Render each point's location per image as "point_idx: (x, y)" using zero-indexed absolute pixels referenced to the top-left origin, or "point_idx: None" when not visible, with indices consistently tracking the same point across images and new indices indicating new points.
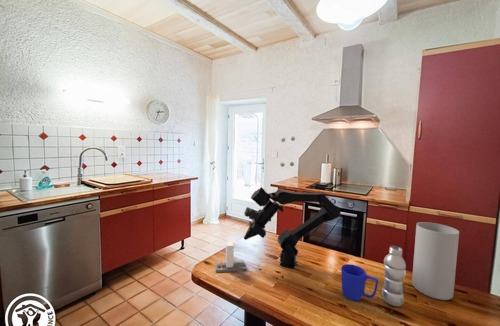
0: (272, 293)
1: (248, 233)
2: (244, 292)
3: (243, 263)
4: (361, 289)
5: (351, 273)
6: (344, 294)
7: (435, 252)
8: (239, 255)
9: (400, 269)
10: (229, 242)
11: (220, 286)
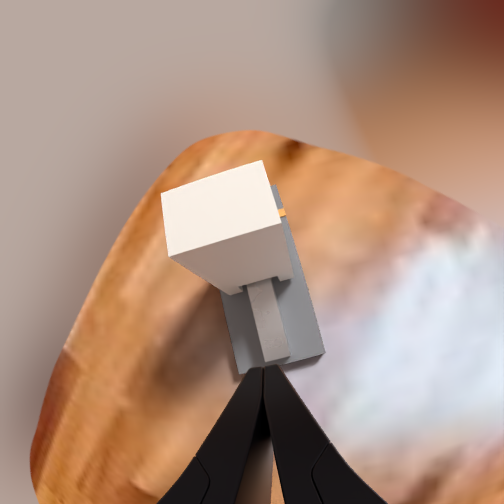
0: (96, 467)
1: (201, 467)
2: (84, 366)
3: (265, 357)
4: None
5: None
6: None
7: None
8: (418, 302)
9: None
10: (245, 196)
11: (110, 264)
